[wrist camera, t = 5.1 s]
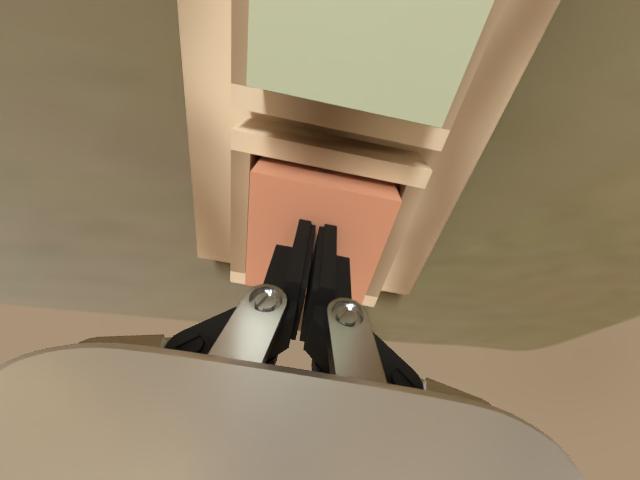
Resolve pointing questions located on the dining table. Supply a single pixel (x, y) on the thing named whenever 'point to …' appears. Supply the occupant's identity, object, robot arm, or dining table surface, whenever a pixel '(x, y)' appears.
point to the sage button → (366, 52)
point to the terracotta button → (318, 215)
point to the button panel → (339, 134)
